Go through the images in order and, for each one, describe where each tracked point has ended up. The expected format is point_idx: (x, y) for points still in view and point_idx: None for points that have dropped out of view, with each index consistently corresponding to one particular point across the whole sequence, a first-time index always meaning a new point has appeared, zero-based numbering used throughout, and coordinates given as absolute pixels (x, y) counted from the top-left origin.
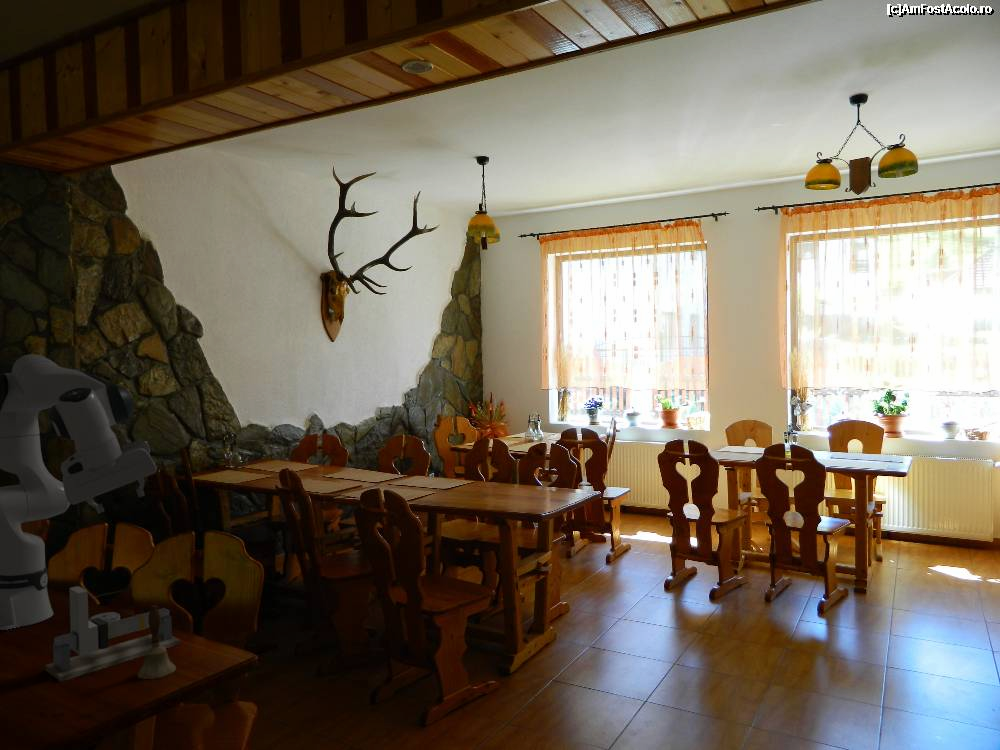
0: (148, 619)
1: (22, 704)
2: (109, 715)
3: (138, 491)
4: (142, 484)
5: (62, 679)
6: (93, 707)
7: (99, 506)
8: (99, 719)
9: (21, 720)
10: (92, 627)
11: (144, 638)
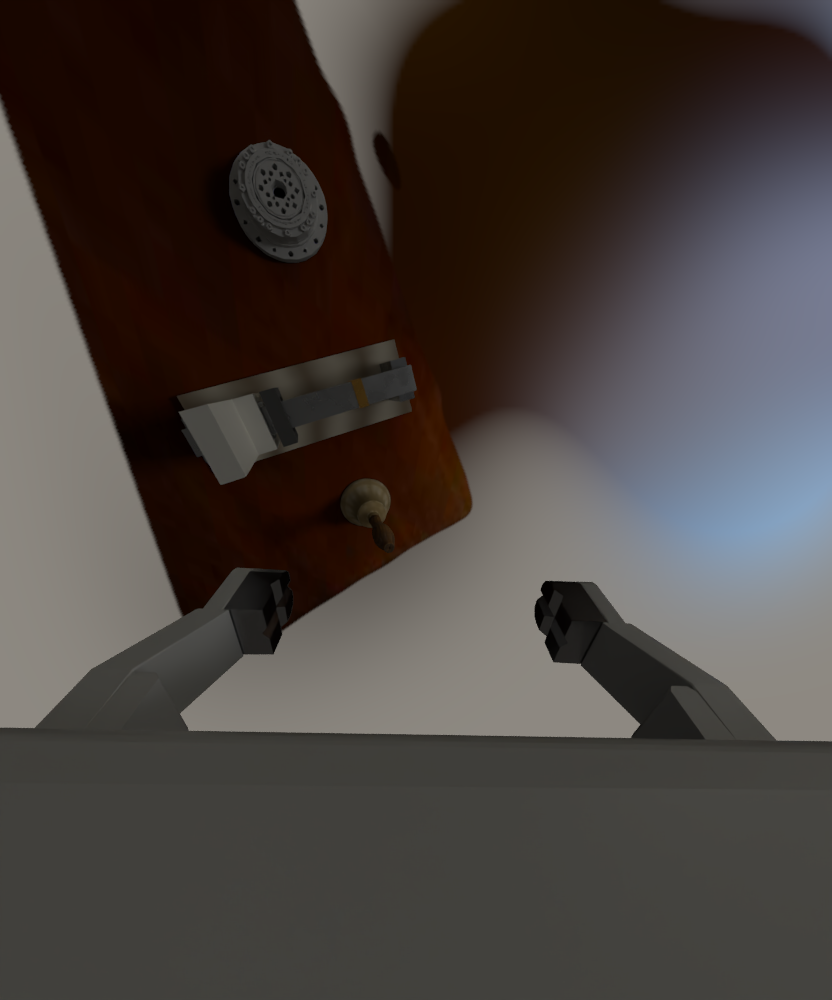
0: (373, 537)
1: (174, 530)
2: (305, 603)
3: (563, 658)
4: (638, 712)
5: None
6: None
7: (253, 652)
8: (293, 609)
9: (188, 581)
10: (266, 452)
11: (360, 361)
